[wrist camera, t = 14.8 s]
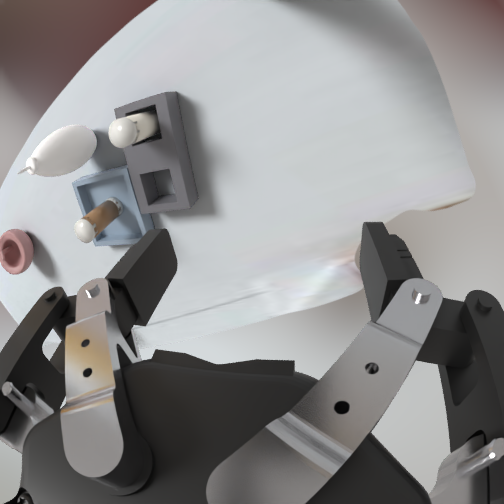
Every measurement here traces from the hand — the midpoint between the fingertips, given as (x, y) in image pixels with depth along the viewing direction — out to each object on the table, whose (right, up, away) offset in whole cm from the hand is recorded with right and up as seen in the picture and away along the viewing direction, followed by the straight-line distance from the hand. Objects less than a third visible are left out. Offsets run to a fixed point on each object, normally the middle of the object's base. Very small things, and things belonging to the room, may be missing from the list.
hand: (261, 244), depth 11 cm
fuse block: (-15, +16, +30) cm, 37 cm away
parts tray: (-26, +9, +37) cm, 46 cm away
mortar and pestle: (-62, +3, +47) cm, 78 cm away
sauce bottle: (-29, +20, +30) cm, 47 cm away
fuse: (-15, +20, +27) cm, 37 cm away
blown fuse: (-26, +8, +36) cm, 45 cm away
